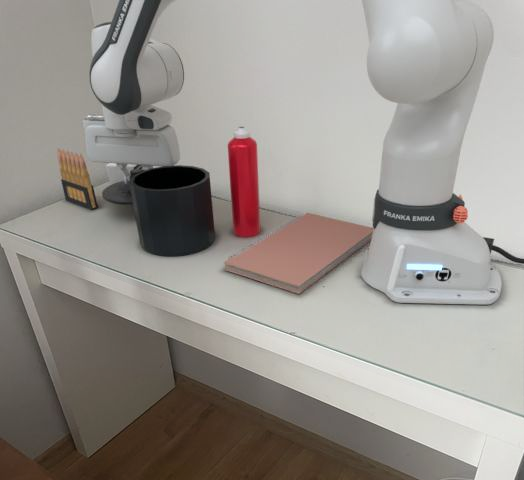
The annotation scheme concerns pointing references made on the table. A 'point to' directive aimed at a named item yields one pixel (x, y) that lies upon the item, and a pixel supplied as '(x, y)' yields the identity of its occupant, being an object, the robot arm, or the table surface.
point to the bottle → (244, 183)
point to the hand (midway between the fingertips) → (137, 184)
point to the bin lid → (119, 192)
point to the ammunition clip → (76, 180)
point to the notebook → (299, 251)
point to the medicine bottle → (116, 175)
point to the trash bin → (173, 210)
